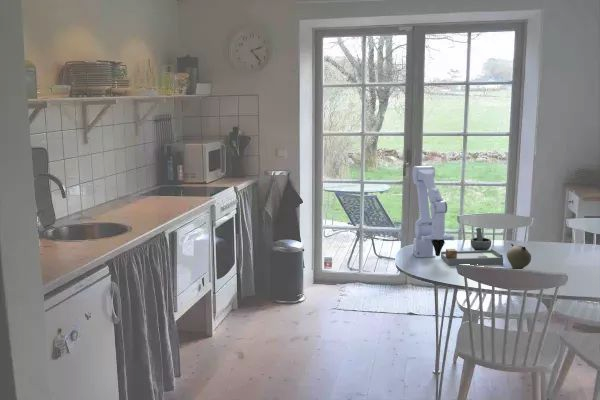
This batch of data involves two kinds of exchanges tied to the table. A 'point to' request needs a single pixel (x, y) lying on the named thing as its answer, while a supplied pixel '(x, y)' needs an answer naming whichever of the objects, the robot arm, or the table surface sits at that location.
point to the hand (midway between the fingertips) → (437, 255)
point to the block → (451, 253)
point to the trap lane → (474, 258)
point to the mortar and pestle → (480, 242)
